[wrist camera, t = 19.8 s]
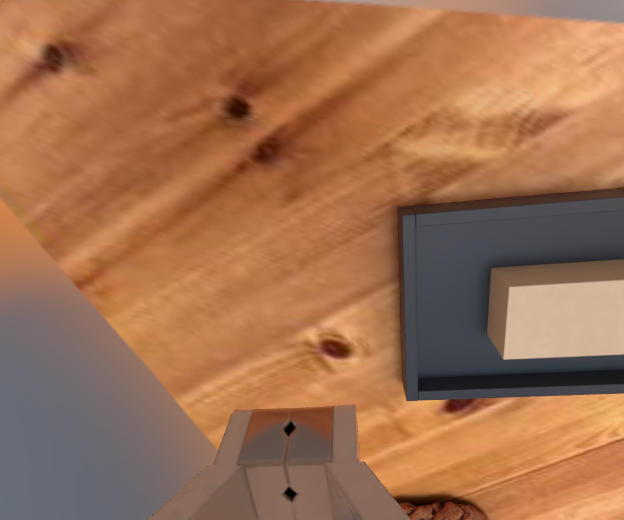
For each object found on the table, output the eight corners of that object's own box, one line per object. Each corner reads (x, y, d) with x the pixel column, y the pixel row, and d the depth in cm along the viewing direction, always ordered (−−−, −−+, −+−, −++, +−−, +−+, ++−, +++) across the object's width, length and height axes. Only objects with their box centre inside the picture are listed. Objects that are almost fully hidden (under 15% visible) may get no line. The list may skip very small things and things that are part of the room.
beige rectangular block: (490, 267, 25) (509, 287, 23) (623, 258, 25) (659, 277, 22) (486, 334, 27) (503, 359, 24) (610, 328, 26) (642, 353, 24)
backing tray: (402, 382, 30) (406, 401, 28) (397, 207, 25) (401, 215, 23) (746, 368, 27) (777, 388, 25) (812, 171, 23) (857, 177, 21)
